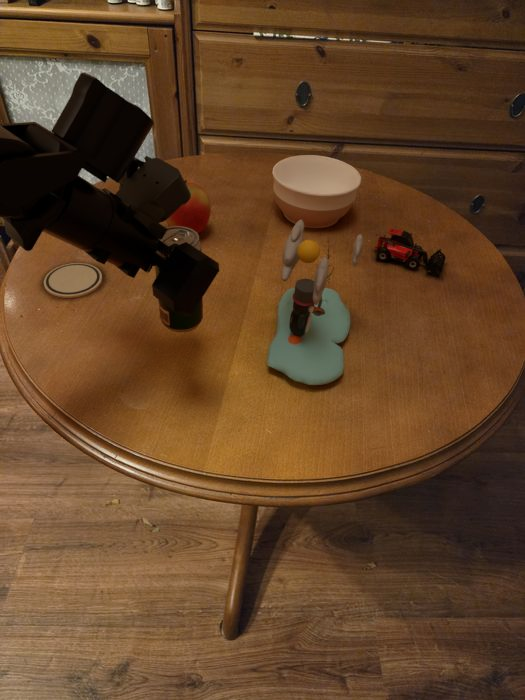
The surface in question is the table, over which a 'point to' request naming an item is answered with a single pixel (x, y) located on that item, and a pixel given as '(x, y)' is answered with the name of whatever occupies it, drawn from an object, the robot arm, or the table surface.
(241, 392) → the table surface
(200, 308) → the beer can
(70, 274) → the drink coaster
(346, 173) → the bowl
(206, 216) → the apple
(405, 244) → the loader
